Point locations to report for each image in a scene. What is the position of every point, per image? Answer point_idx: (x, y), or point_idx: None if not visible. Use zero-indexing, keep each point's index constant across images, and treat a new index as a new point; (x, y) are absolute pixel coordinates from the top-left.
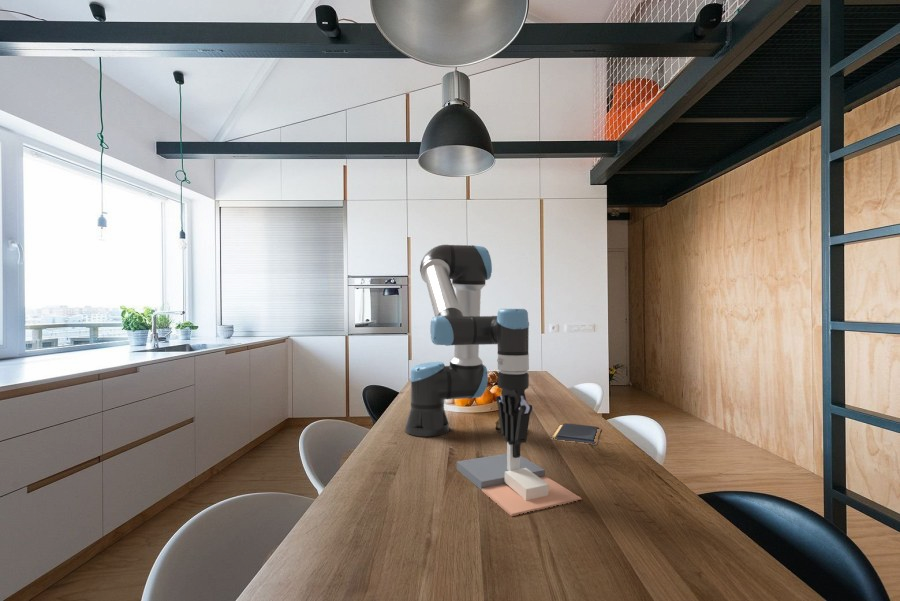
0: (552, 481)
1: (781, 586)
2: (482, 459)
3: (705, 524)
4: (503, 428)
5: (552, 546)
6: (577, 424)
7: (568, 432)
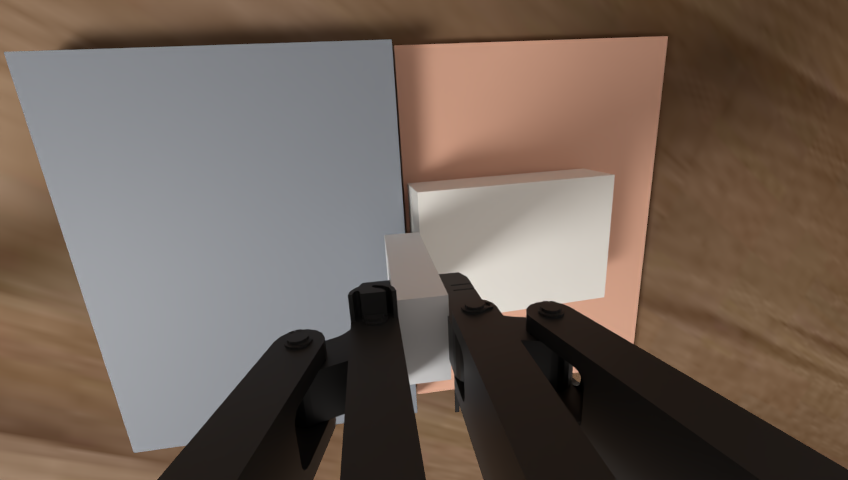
0: (468, 52)
1: None
2: (127, 321)
3: None
4: (315, 467)
5: (801, 322)
6: None
7: None
